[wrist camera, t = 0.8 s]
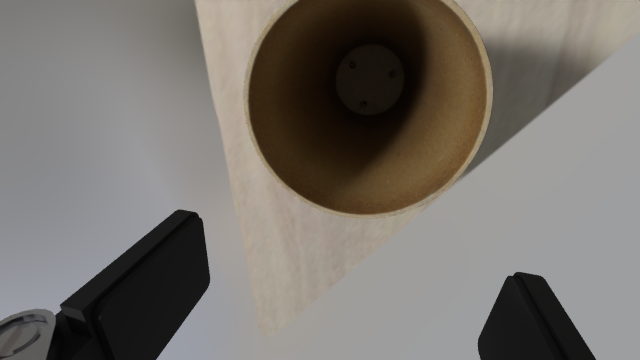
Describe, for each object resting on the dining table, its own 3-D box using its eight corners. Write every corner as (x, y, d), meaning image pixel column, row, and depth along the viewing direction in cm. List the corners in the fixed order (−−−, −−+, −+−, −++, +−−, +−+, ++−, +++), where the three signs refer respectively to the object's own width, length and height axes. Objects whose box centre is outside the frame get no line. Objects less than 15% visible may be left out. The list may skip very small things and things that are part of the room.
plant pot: (291, 126, 36) (230, 181, 22) (323, -16, 29) (263, -67, 15) (410, 164, 35) (426, 248, 21) (471, 27, 28) (555, 14, 14)
